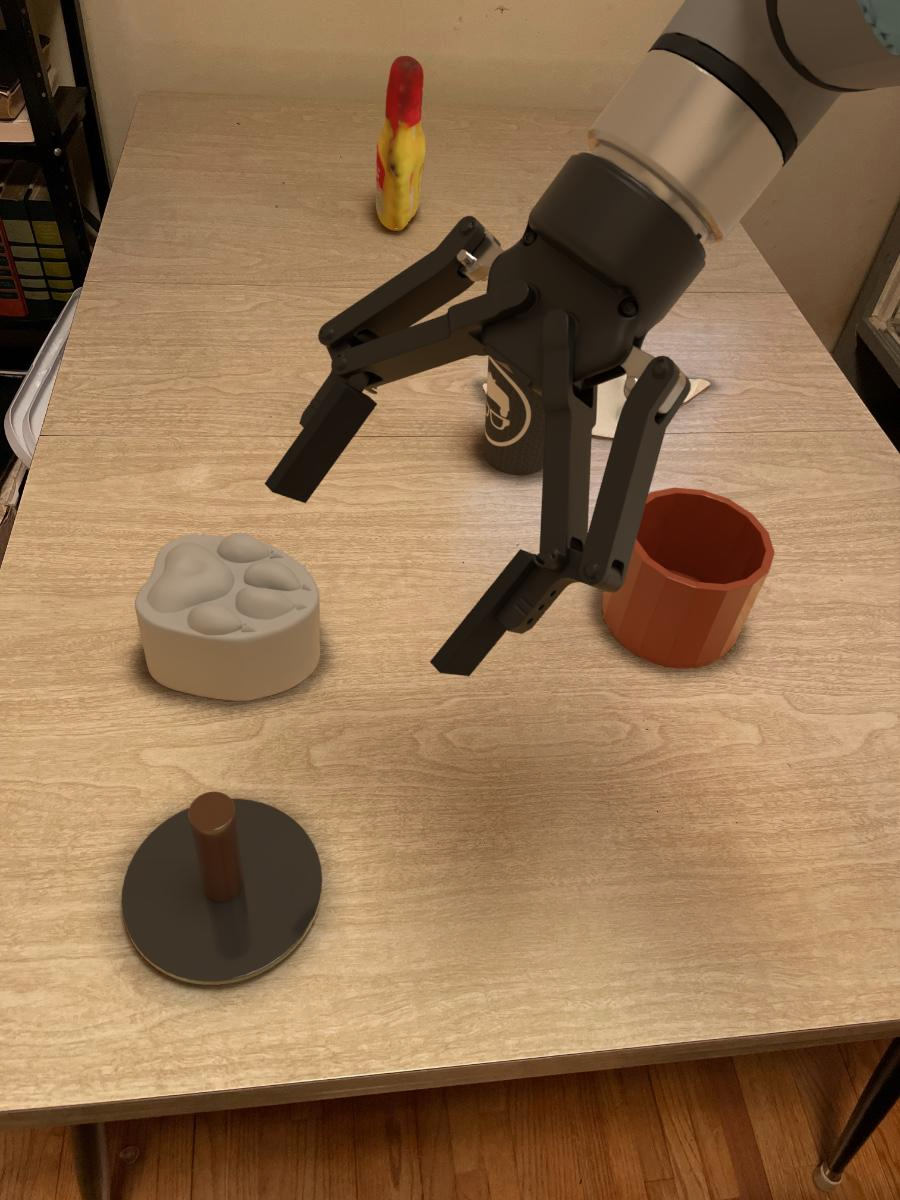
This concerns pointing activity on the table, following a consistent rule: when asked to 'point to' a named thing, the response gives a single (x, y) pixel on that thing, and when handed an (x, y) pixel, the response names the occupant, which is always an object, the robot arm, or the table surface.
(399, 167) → the bottle
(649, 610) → the pot
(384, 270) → the table surface
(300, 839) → the lid
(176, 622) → the lumpy-topped squat cylinder
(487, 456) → the coffee cup
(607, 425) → the cloth
